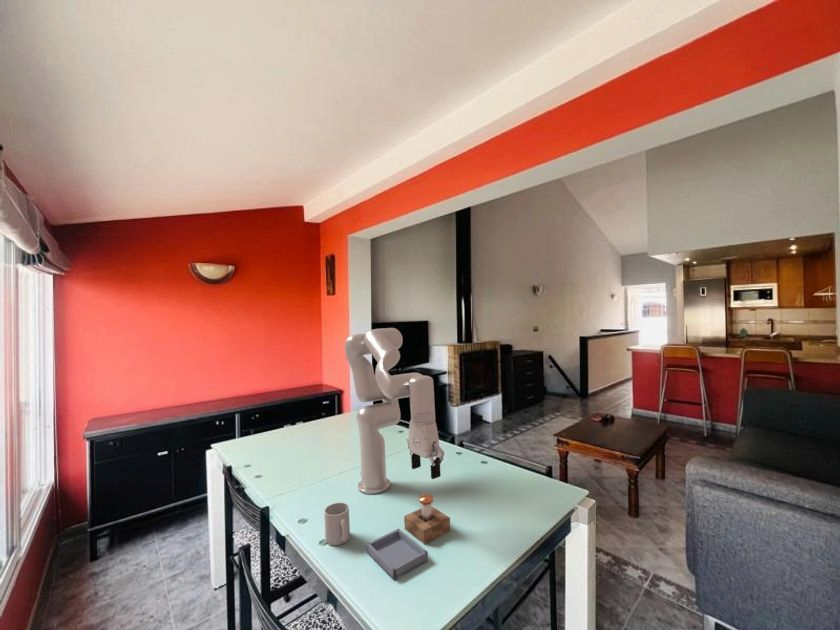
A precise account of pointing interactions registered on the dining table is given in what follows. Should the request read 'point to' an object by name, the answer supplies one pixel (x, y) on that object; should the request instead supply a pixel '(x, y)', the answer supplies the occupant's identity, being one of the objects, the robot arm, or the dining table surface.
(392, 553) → the tray
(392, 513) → the dining table surface
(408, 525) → the hitch block
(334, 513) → the cup
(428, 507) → the pin
